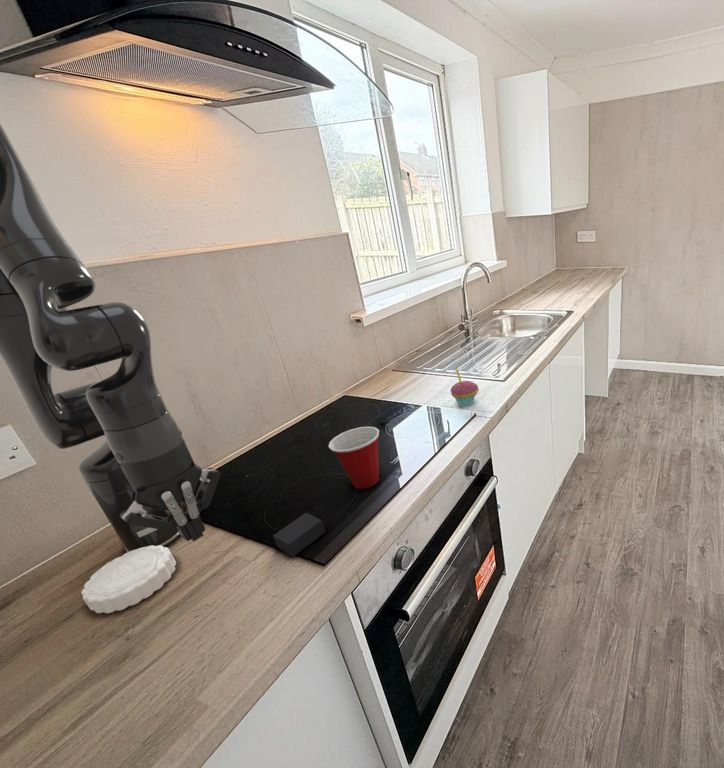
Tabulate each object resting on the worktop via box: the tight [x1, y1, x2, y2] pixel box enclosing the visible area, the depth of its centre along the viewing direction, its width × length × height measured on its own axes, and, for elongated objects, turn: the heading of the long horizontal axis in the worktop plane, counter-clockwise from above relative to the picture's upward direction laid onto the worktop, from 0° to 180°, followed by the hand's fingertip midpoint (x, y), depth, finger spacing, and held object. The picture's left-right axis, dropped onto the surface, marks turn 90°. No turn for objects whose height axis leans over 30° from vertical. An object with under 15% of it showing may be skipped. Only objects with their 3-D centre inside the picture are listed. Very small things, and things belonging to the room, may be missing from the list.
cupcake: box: [450, 366, 480, 407], centre depth 126 cm, size 9×8×12 cm
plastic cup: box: [328, 426, 380, 490], centre depth 93 cm, size 11×11×12 cm
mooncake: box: [81, 545, 177, 614], centre depth 72 cm, size 12×12×4 cm
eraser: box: [272, 512, 327, 557], centre depth 79 cm, size 5×7×3 cm
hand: (195, 537), depth 66 cm, fingers closed
